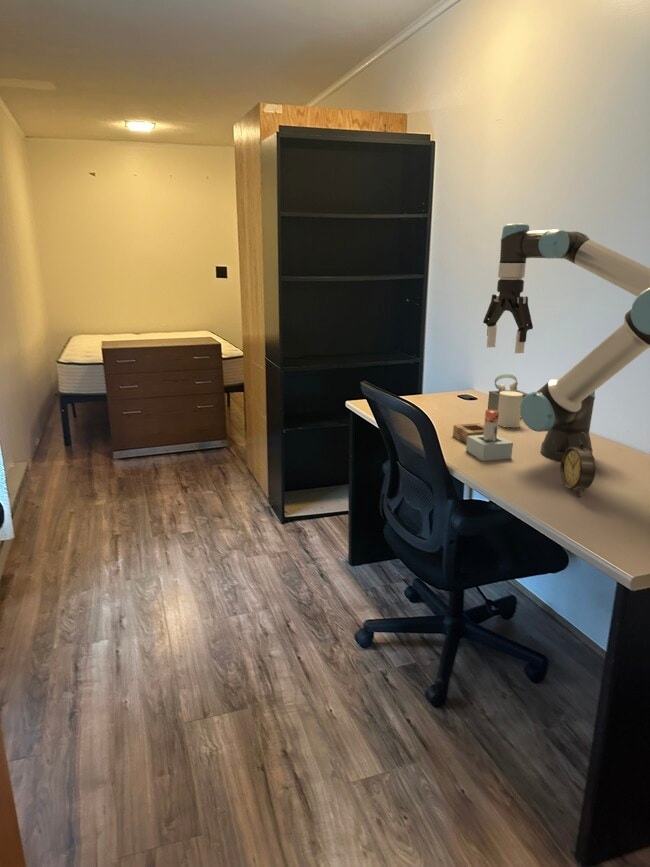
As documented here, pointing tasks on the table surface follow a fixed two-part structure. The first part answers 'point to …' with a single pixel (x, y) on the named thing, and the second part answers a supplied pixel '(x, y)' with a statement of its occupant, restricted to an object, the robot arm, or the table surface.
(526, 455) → the table surface
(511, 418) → the cream cylinder
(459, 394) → the table surface
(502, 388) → the headphones
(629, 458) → the table surface
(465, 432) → the mount
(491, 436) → the pin
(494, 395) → the box
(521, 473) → the table surface
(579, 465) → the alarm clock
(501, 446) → the frame
